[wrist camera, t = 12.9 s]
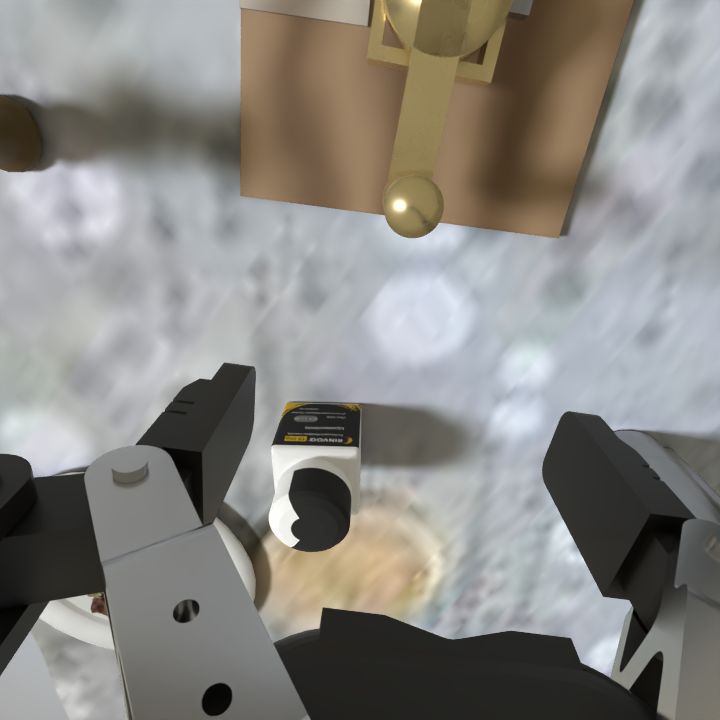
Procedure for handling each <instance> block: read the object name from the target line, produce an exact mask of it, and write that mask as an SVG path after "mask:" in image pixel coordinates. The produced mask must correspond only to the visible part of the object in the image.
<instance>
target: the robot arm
mask: <svg viewBox="0 0 720 720" xmlns="http://www.w3.org/2000/svg"><path fill="white" fill-rule="evenodd" d="M255 382H256V371H255V367H253V366H246V365H238V364H231V363H224V364H223V365H222V366H221V367H220V369H219V370H218V372H217V373H216V374H215V376H214V377H213V378H212V380H207V379H198V380H197V381H195V382H193V383H191V384H189V385H187V386H185V387H183V388H182V390H181V391H180V392H179V393H178V394H177V396H176V397H175V398H174V399H173V402H171V403H170V404H169V405H168V406H167V408H166V409H165V412H162V414H161V415H160V416H159V417H158V418H157V420H156V421H155V422H154V423H153V424H152V426H151V427H150V428H149V429H148V430H147V432H146V433H145V434H144V435H143V436H142V438H141V439H140V440H139V441H138V442H137V444H136V445H134V446H127V447H122V448H119V449H115V450H113V451H110V452H108V453H106V454H104V455H102V456H101V457H99V458H97V459H96V460H95V461H94V462H93V463H92V464H91V465H90V466H89V467H88V469H87V471H86V473H80V474H71V475H59V476H48V477H37V478H34V477H33V472H32V468H31V465H30V463H29V462H28V461H27V460H26V459H24V458H22V457H19V456H16V455H10V454H0V675H1V674H2V672H3V671H4V669H5V668H6V666H7V665H8V663H9V662H10V660H11V659H12V657H13V656H14V654H15V653H16V651H17V650H18V648H19V647H20V645H21V644H22V642H23V641H24V639H25V638H26V636H27V635H28V633H29V632H30V630H31V629H32V627H33V626H34V624H35V623H36V621H37V620H38V618H39V617H40V615H41V614H42V612H43V611H44V609H45V608H46V606H47V605H48V603H49V601H53V600H59V599H65V598H71V597H77V596H83V595H88V594H94V593H100V592H103V593H104V598H105V603H106V608H107V613H108V618H109V624H110V629H111V634H112V639H113V644H114V649H115V654H116V659H117V665H118V670H119V675H120V680H121V685H122V691H123V696H124V702H125V707H126V713H127V718H128V720H720V496H719V495H718V494H717V493H716V492H715V491H714V490H713V489H712V488H711V487H710V486H709V485H708V484H707V483H706V482H705V481H704V480H703V479H702V478H701V477H700V476H699V475H698V474H697V473H696V472H695V471H694V470H693V469H692V468H691V467H690V466H689V465H688V464H687V463H686V462H685V461H684V460H683V459H682V458H681V457H680V456H679V455H678V454H677V453H676V452H675V451H674V450H673V449H667V448H663V447H662V446H661V445H660V444H659V443H658V442H657V441H656V440H655V439H654V438H652V437H651V436H649V435H647V434H644V433H641V432H637V431H616V432H613V431H612V430H611V428H610V427H609V426H608V425H607V424H606V423H605V421H604V420H603V419H602V418H601V417H600V416H598V415H591V414H584V413H577V412H570V411H569V412H566V413H564V414H563V415H562V417H561V419H560V421H559V423H558V426H557V428H556V431H555V433H554V436H553V438H552V441H551V443H550V446H549V448H548V451H547V453H546V456H545V458H544V461H543V468H542V474H543V480H544V483H545V485H546V487H547V489H548V491H549V493H550V495H551V497H552V499H553V501H554V503H555V505H556V506H557V508H558V510H559V512H560V514H561V516H562V518H563V520H564V522H565V524H566V526H567V528H568V530H569V532H570V534H571V535H572V537H573V539H574V541H575V543H576V545H577V547H578V549H579V551H580V553H581V555H582V557H583V559H584V561H585V563H586V564H587V566H588V568H589V570H590V572H591V574H592V576H593V578H594V580H595V582H596V584H597V586H598V588H599V590H600V592H601V593H602V595H603V597H610V598H618V599H626V600H630V602H631V604H632V607H631V608H630V610H629V612H628V613H627V615H626V617H625V620H624V625H623V629H622V633H621V637H620V641H619V645H618V649H617V653H616V657H615V661H614V665H613V669H612V673H611V677H610V678H609V677H608V676H606V675H604V674H603V673H601V672H599V671H597V670H595V669H593V668H591V667H589V666H587V665H584V664H582V663H581V662H580V659H579V657H578V655H577V652H576V650H575V647H574V645H573V642H572V640H571V638H565V637H557V636H549V635H541V634H533V633H525V632H517V631H506V632H500V633H494V634H487V635H481V636H475V637H469V638H462V639H454V640H452V639H446V638H443V637H441V636H438V635H435V634H433V633H430V632H427V631H425V630H422V629H420V628H417V627H414V626H412V625H409V624H406V623H404V622H401V621H399V620H396V619H393V618H391V617H388V616H386V615H379V614H371V613H363V612H355V611H347V610H339V609H331V608H323V610H322V616H321V622H320V629H314V630H308V631H304V632H301V633H298V634H294V635H291V636H288V637H286V638H284V639H281V640H279V641H277V642H275V643H273V642H272V640H271V638H270V636H269V634H268V632H267V630H266V628H265V626H264V624H263V621H262V619H261V617H260V615H259V613H258V611H257V609H256V607H255V605H254V603H253V601H252V599H251V597H250V595H249V593H248V591H247V589H246V587H245V585H244V583H243V581H242V579H241V576H240V574H239V572H238V570H237V568H236V566H235V564H234V562H233V560H232V558H231V556H230V554H229V552H228V550H227V548H226V546H225V544H224V542H223V540H222V538H221V536H220V534H219V532H218V530H217V528H216V527H215V526H214V524H213V523H214V521H215V518H216V516H217V514H218V512H219V509H220V507H221V505H222V503H223V500H224V498H225V496H226V494H227V491H228V489H229V487H230V485H231V482H232V480H233V478H234V475H235V473H236V471H237V469H238V466H239V464H240V462H241V460H242V457H243V455H244V453H245V451H246V448H247V446H248V444H249V441H250V438H251V434H252V430H253V423H254V406H255Z"/></svg>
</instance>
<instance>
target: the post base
mask: <svg viewBox="0 0 720 720" xmlns="http://www.w3.org/2000/svg"><path fill="white" fill-rule="evenodd" d="M633 2H634V0H533V3H532V6H531V10H530V14H529V16H528V17H527V18H526V19H524V20H523V21H521V20H516V19H511V18H507V22H506V26H505V30H504V34H503V38H502V42H501V46H500V49H499V53H498V57H497V61H496V65H495V69H494V73H493V77H492V81H491V83H489V84H488V85H486V86H484V87H478V86H473V85H468V84H463V83H458V82H454V83H453V88H452V92H451V97H450V101H449V105H448V110H447V114H446V119H445V123H444V128H443V132H442V137H441V141H440V146H439V150H438V155H437V159H436V163H435V168H434V172H433V177H432V181H433V182H434V183H435V184H436V185H437V186H438V187H439V189H440V191H441V193H442V196H443V200H444V210H443V215H442V218H441V220H440V223H447V224H455V225H462V226H470V227H477V228H485V229H492V230H500V231H507V232H515V233H522V234H530V235H537V236H545V237H552V238H559V235H560V232H561V229H562V226H563V222H564V219H565V216H566V213H567V210H568V207H569V204H570V200H571V197H572V194H573V191H574V188H575V185H576V182H577V178H578V175H579V172H580V169H581V166H582V163H583V160H584V156H585V153H586V150H587V147H588V144H589V141H590V137H591V134H592V131H593V128H594V125H595V122H596V119H597V115H598V112H599V109H600V106H601V103H602V100H603V97H604V93H605V90H606V87H607V84H608V81H609V78H610V75H611V71H612V68H613V65H614V62H615V59H616V56H617V52H618V49H619V46H620V43H621V40H622V37H623V34H624V30H625V27H626V24H627V21H628V18H629V15H630V12H631V8H632V5H633ZM374 5H375V0H240V8H241V196H245V197H253V198H260V199H268V200H275V201H283V202H290V203H298V204H305V205H312V206H320V207H327V208H335V209H342V210H350V211H357V212H365V213H372V214H380V215H385V213H384V208H383V202H382V194H383V190H384V187H385V185H386V183H387V182H388V176H389V171H390V165H391V160H392V154H393V149H394V144H395V138H396V133H397V127H398V122H399V116H400V111H401V105H402V100H403V94H404V89H405V84H406V78H407V73H408V72H403V71H398V70H393V69H388V68H383V67H378V66H373V65H368V64H367V53H368V46H369V39H370V32H371V25H372V18H373V12H374ZM382 45H384V46H389V47H394V48H399V49H403V47H402V46H401V45H400V44H399V43H398V41H397V40H396V38H395V36H394V35H393V33H392V31H391V29H390V26H389V23H388V21H387V19H386V25H385V31H384V38H383V44H382ZM404 50H405V49H404ZM479 51H480V48H479V49H478V50H477V51H476V52H474V53H473V54H471V55H470V56H468V57H467V58H465V59H463V60H461V61H464V62H469V63H474V64H477V60H478V55H479Z"/></svg>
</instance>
